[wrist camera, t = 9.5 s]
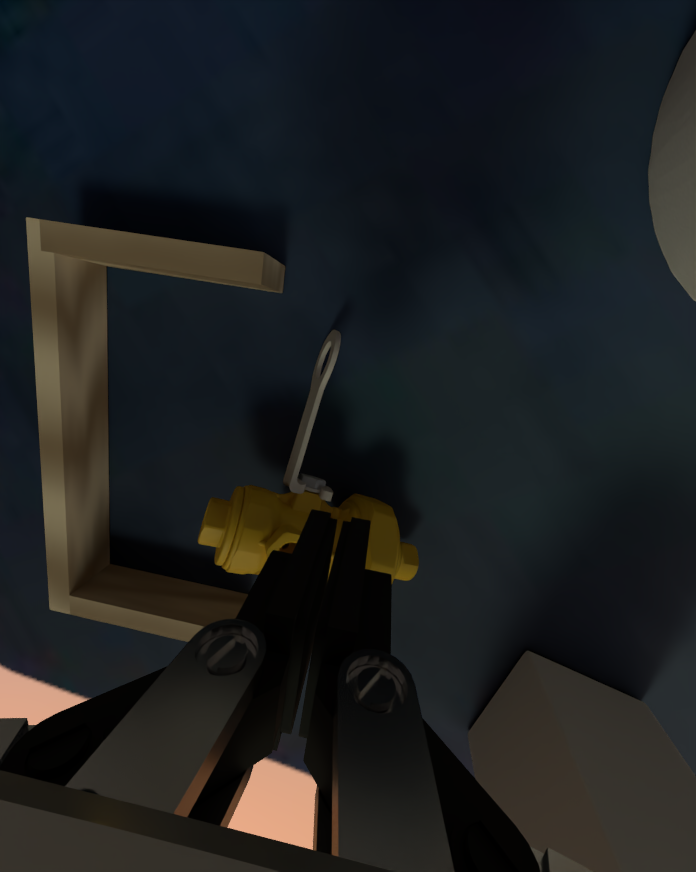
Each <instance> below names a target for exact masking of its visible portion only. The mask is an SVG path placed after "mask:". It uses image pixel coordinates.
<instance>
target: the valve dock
mask: <svg viewBox="0 0 696 872" xmlns="http://www.w3.org/2000/svg"><path fill="white" fill-rule="evenodd" d="M26 225H27V242H28V258H29V275H30V291H31V308H32V324H33V341H34V357H35V374H36V390H37V407H38V423H39V440H40V457H41V473H42V490H43V506H44V523H45V539H46V556H47V572H48V589H49V605H50V610H54V611H58V612H63V613H67V614H71V615H76V616H80V617H84V618H88V619H93V620H97V621H101V622H106V623H110V624H114V625H118V626H123V627H127V628H131V629H135V630H140V631H144V632H148V633H153V634H157V635H161V636H165V637H170V638H174V639H178V640H183V641H187V642H189V641H190V640H191V638H192V637H193V636H194V635H195V634H196V633H197V632H198V631H200V630H201V629H202V628H203V627H205V626H207V625H209V624H211V623H213V622H216V621H220V620H223V619H235V618H236V616H237V615H238V613H239V611H240V609H241V607H242V605H243V603H244V601H245V600H246V598H247V596H248V594H244V593H240V592H235V591H231V590H226V589H222V588H217V587H213V586H208V585H204V584H199V583H195V582H190V581H185V580H181V579H176V578H172V577H167V576H163V575H158V574H154V573H149V572H145V571H140V570H136V569H131V568H126V567H122V566H117V565H113V564H110V540H109V449H108V359H107V269H106V266H109V267H116V268H122V269H129V270H135V271H142V272H148V273H155V274H161V275H168V276H174V277H181V278H187V279H194V280H200V281H206V282H213V283H219V284H226V285H232V286H239V287H245V288H252V289H258V290H265V291H271V292H278V293H283V284H284V274H285V266H284V265H283V264H281V263H280V262H278V261H277V260H275V259H274V258H272V257H270V256H269V255H267V254H266V253H264V252H259V251H253V250H246V249H239V248H232V247H225V246H218V245H212V244H205V243H198V242H191V241H184V240H177V239H171V238H164V237H157V236H150V235H143V234H136V233H129V232H123V231H116V230H109V229H102V228H95V227H88V226H82V225H75V224H68V223H61V222H54V221H47V220H41V219H34V218H27V217H26Z"/></svg>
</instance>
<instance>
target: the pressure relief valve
mask: <svg viewBox="0 0 696 872" xmlns="http://www.w3.org/2000/svg"><path fill="white" fill-rule="evenodd" d="M340 341H341V334H340V332H339V331H336V330H332V331H331V332H330V333H329V335H328V337H327V338H326V340H325V342H324V344H323V346H322V348H321V351H320V353H319V356H318V359H317V362H316V365H315V368H314V372H313V377H312V383H311V389H310V393H309V396H308V400H307V403H306V406H305V410H304V413H303V416H302V420H301V423H300V426H299V430H298V433H297V436H296V439H295V443H294V446H293V449H292V453H291V456H290V459H289V463H288V466H287V469H286V473H285V476H284V479H283V483H284V485H285V486H289V488H290V491H291V492H289V493H286V494H278V493H274V492H271V491H269V490H267V489H265V488H261V487H257V486H253V485H249V486H245V487H244V488H243V487H240V486H237V487H236V488H235V490H234V492H233V494H232V496H231V499H230V501H227V500H222V499H218V498H214V497H212V498H211V499H210V501H209V503H208V506H207V509H206V512H205V516H204V519H203V522H202V526H201V529H200V533H199V537H198V543H199V544H202V545H208V546H213V547H216V552H215V564H216V565H219V566H221V565H222V568H223V569H226V572H231V573H236V574H242V575H243V574H248V573H250V574H255V575H256V574H259V573H260V572H261V570H262V568H263V566H264V564H265V562H266V560H267V558H268V557H269V555H270V553H271V552H272V551H273V550H276V551H281V552H286V553H291V554H292V553H293V550H294V548H295V546H296V543H297V541H298V539H299V537H300V534H301V532H302V530H303V528H304V525H305V523H306V521H307V519H308V516H309V514H310V512H311V510H312V509H314V510H319V511H324V512H329V513H331V518H333V519H337V526H336V532H335V538H334V545H333V551H332V557H331V563H330V569H329V574H330V570H331V566H332V562H333V558H334V555H335V551H336V547H337V543H338V539H339V535H340V531H341V528H342V524H343V521H348V522H351V519H352V517H355V518H360V519H365V520H370V521H371V524H370V532H369V541H368V549H367V557H366V565H365V569H369V570H373V571H378V572H383V573H388V574H391V577H392V583H393V580H394V578H395V579H400V580H405V581H407V580H410V579H412V578H413V577H414V575H415V574H416V572H417V569H418V565H419V560H418V553H417V549H416V547H415V546H414V545H412V544H408V543H404V542H400V536H399V528H398V523H397V520H396V517H395V515H394V511H393V509H392V507H391V506H389V505H387V504H385V503H383V502H381V501H379V500H377V499H375V498H371V497H368V496H364V495H360V494H356V493H354V494H353V495H352V496H350V497H349V498H348V499H346V500H345V501H344V502H343V503H342V504H341V505H340V506H339V508H337V507H330V506H329V505H328V504H327V503H326V502H325V500H326V501H331V498H332V495H333V491H332V489H331V488H330V487H328V486H325V484H326V481H325V480H323V479H321V478H318V477H314V476H311V475H307V474H300V475H299V478H297V477H298V474H299V471H300V468H301V464H302V461H303V458H304V454H305V451H306V448H307V444H308V441H309V438H310V434H311V431H312V428H313V424H314V421H315V418H316V414H317V411H318V408H319V404H320V401H321V398H322V394H323V391H324V389H325V386H326V384H327V381H328V379H329V377H330V375H331V373H332V370H333V368H334V365H335V362H336V359H337V356H338V352H339V348H340ZM330 347H331V350H330V355H329V358H328V361H327V364H326V366H325V369H324V371H323V373H322V375H321V376H320V373H321V369H322V365H323V362H324V359H325V356H326V354H327V352H328V350H329V348H330ZM328 578H329V575H328ZM327 582H328V581H327Z"/></svg>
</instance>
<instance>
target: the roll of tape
mask: <svg viewBox="0 0 696 872" xmlns="http://www.w3.org/2000/svg"><path fill="white" fill-rule="evenodd" d="M648 181H649V202H650V208H651V212H652V219H653V225H654V230H655V233H656V236H657V239H658V242H659V245H660V247H661V250H662V253H663V255H664V257H665V259H666V261H667V263H668V265H669V268H670V270H671V272H672V273H673V275H674V276H675V277H676V279H677V280H678V281H679V283H680V284H681V285H682V286H683V287H684V289H685V290H686V291H687V293H688V294H689V295H690V297H691V298H692V299H693V300H694V301H695V302H696V31H695V32H694V34H693V36H692V37H691V39H690V40H689V42H688V43H687V45H686V46H685V48H684V50H683V51H682V54H681V56H680V58H679V60H678V62H677V65H676V68H675V70H674V72H673V75H672V77H671V79H670V81H669V84H668V86H667V89H666V91H665V94H664V96H663V99H662V102H661V106H660V109H659V113H658V117H657V121H656V125H655V129H654V133H653V138H652V148H651V155H650V162H649V168H648Z"/></svg>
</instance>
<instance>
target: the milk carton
mask: <svg viewBox="0 0 696 872" xmlns="http://www.w3.org/2000/svg"><path fill="white" fill-rule="evenodd" d="M468 740H469V746H470V751H471V757H472V762H473V768H474V774H475V779H476V780H477V782H478V783H479V784H480V785H481V786H482V787H483V788H484V790H485V791H486V792H487V793H488V794H489V795H490V796H491V798H492V799H493V800H494V801H495V802H496V803H497V805H498V806H499V807H500V808H501V809H502V810H503V811H504V813H505V814H506V815H507V816H508V817H509V818H510V820H511V821H512V822H513V823H514V824H515V825H516V827H517V828H518V829H519V831H520V832H521V834H522V835H523V836H524V838H525V839H526V841H527V842H528V843H529V845H530V847H532V848H534V849H536V850H538V851H540V852H542V853H543V854H544V853H545V851H546V849H547V847H548V848H550V849H552V850H554V851H556V852H558V853H560V854H562V855H564V856H565V857H567V858H569V859H571V860H573V861H575V862H577V863H579V864H581V865H583V866H585V867H587V868H588V869H590V870H592V871H594V872H696V776H695V775H694V773H693V772H692V770H691V769H690V767H689V766H688V764H687V763H686V762H685V760H684V759H683V757H682V756H681V754H680V753H679V751H678V750H677V748H676V747H675V745H674V744H673V743H672V741H671V740H670V738H669V737H668V735H667V734H666V732H665V731H664V729H663V728H662V727H661V725H660V724H659V722H658V721H657V719H656V718H655V716H654V715H653V713H652V712H651V710H650V709H649V708H648V706H647V705H646V704H645V703H644V702H642V701H640V700H637V699H635V698H633V697H631V696H629V695H626V694H624V693H622V692H620V691H618V690H615V689H613V688H611V687H609V686H606V685H604V684H602V683H600V682H598V681H595V680H593V679H591V678H589V677H586V676H584V675H582V674H580V673H577V672H575V671H573V670H571V669H569V668H566V667H564V666H562V665H560V664H557V663H555V662H553V661H551V660H548V659H546V658H544V657H542V656H539V655H537V654H535V653H533V652H530V651H526V652H525V653H524V654H523V655H522V657H521V658H520V660H519V661H518V662H517V664H516V665H515V667H514V668H513V669H512V671H511V672H510V674H509V675H508V677H507V678H506V679H505V681H504V682H503V684H502V685H501V686H500V688H499V689H498V691H497V692H496V694H495V695H494V696H493V698H492V699H491V701H490V702H489V704H488V705H487V706H486V708H485V709H484V711H483V712H482V713H481V715H480V716H479V718H478V719H477V721H476V722H475V723H474V725H473V726H472V728H471V729H470V731H469V733H468Z"/></svg>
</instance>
